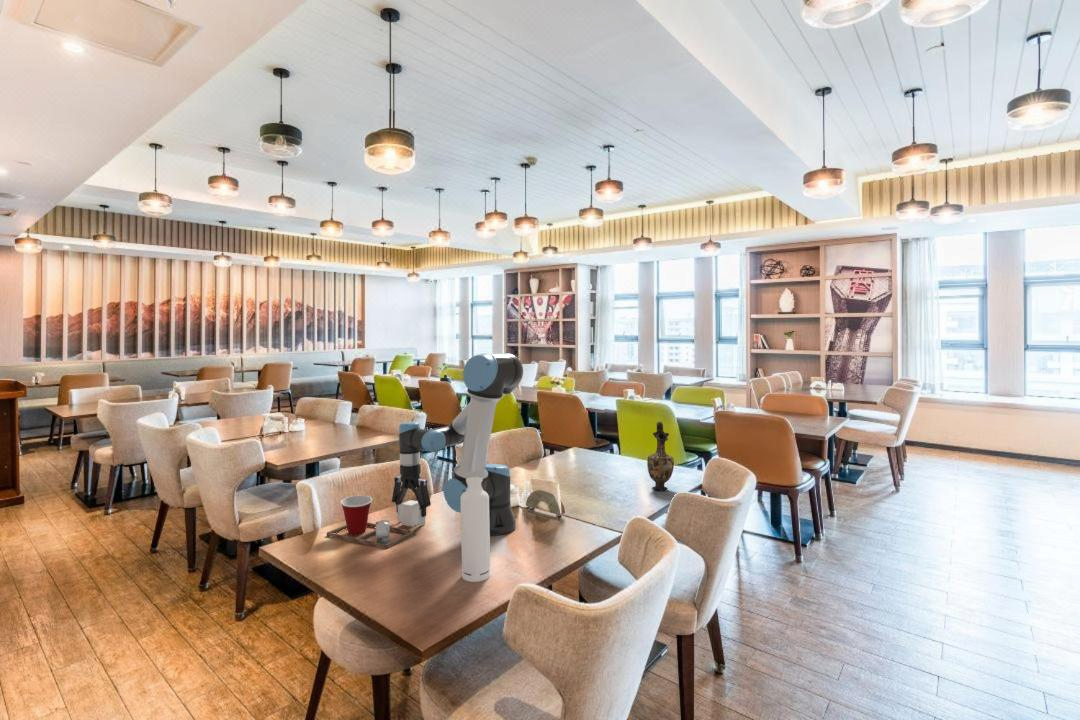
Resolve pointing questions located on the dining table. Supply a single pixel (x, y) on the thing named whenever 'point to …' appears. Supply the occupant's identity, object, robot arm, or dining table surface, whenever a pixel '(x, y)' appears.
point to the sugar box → (410, 513)
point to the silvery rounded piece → (382, 532)
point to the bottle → (475, 531)
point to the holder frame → (362, 538)
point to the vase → (660, 461)
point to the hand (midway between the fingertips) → (411, 523)
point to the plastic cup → (356, 513)
